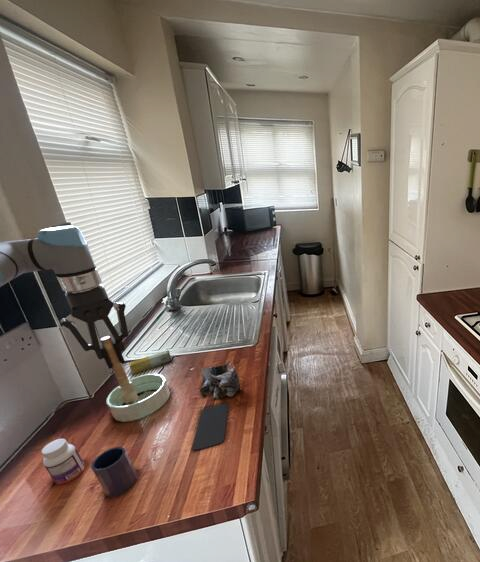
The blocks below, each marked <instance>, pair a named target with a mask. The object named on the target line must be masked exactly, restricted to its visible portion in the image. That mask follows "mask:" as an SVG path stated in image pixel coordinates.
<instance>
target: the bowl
mask: <svg viewBox="0 0 480 562" xmlns="http://www.w3.org/2000/svg"><path fill="white" fill-rule="evenodd" d="M128 380H129V382H132V383H133V386H134V388H135V391H136V393H137V395H138V394H141V393H143V392H147V391H150V390H156V391H155V392H153V393H151V394H150V395H149V396H147V397H145V398H144V399H141V400H139V401H137V402H134V403H130V404H125V402H124V400H123V397H122V395H121V393H120V390H119V388H118V387H119V386H120V384H118V386H117V387H115V388H114V389H112V391H111V392H110V393H109V394H108V395H107V396H106V405H107V408H108V410H109V411H110V413H111V416H112V417H113V419H115V421H118V422H122V423H124V422H133V421H136V420H140V419H143V418H145V417H147V416H150V415H152V414H153V413H155V412H156V411H158V410H159V409H160V408H161V407H163V406H164V405H165V404H166V403H167V401H168V400H169V398H170V395H171V391H170V389H169V386H168V383H167V380H166V378H165V376H164V375H162V374H161V373H146V374H142V375H138V376H136V377H132V378H130V379H128ZM124 404H125V405H124Z"/></svg>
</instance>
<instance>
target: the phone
mask: <svg viewBox="0 0 480 562" xmlns="http://www.w3.org/2000/svg"><path fill="white" fill-rule="evenodd" d="M228 409H229V404H228V403H221V404H220V403H219V404H216V405H213V406H208V407H206V408H203V409H202V410H201V411H200V414H199V419H198V424H197V427H196V431H195V437H194V440H193V446H192V450H193V451H200V450H204V449H207V448H211V447H214V446H217V445H220V444H222V443H223V442H224V441H225V437H226V429H227V428H226V427H227V420H228Z"/></svg>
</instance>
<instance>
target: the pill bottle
mask: <svg viewBox="0 0 480 562" xmlns="http://www.w3.org/2000/svg"><path fill="white" fill-rule="evenodd" d="M41 454H42V457H43V459H42V464H43V466H44V469H46V471H47V473H48V474H49V475H50V477H51V479H52V480H53V482H54V483H55V484H57V485H63V484H65V483H68V482H70V481H72V480H74V479H76V478H77V477H78V476H80V474H82V472H83V471H84V469H85V468H86V464H85V462H84V460H83V458H82V457H81V455H80V453H79V452H78V450H77V448H76V446H75V445H73V444H71V443H68V441H67V439H65V438H58V439H54V440H52V441H51V442H49V443H47V444H46V445H45V446H44V447H43V448H42V449H41Z"/></svg>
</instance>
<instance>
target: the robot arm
mask: <svg viewBox="0 0 480 562" xmlns="http://www.w3.org/2000/svg"><path fill="white" fill-rule="evenodd" d="M36 235H37V237H36V238H30V239H29V238H28V239H19V240H7V241H0V288H1V287H3V286H4V285H6V284H8V283H9V282H12V280H14V279H17V278H18V277H20V276H21V275H23V274H27V273H34V272H40V271H48V270H52V271H53V272H54V273H55V276H56V279H57V281H58V283H59V285H60V287H61V290H62V291H63V292H65V293H64V296H65V299H66V301H67V303H68V305H69V307H70V311H69V315H67V316H66V317H63V318H61V319H60V320H59V322H60V325H62V327H65V328H67V329H68V330H69V331H70V332H71V334H72V335H73V336H74V338H75V340H76V341H77V342H78V344H79V345H80V346H81V348H82V349H83V350H84V351H85V352H89V351H94V352H95V355H96V357H97V359H98V360H103V359H104V362H105V364H106V366H107V367H108V369H109V370H110V369H113V367H112V365H111V362H110V360H109V358H108V355H107V353H106V351H105V349H104V347H103V345H102V344H100V342H99V338H98V334H97V331H96V327H95V326H96V325H95V322H98V321H102V322H103V323H104V324H105V326H106V328H107V329H108V332H110V334H111V336H112V337H113V339H114V340H113V339H112V342H113V344H114V347H115V349H116V351H117V354H118V356H119V359H120V361H121V363H122V365H123V364H126V361H125V359H124V355H123V353H122V352H124V351H126V347H125V345H124V342H123V340H124V339H125V338H127V337H129V331H128V324H127V319H126V314H125V310H126V306H127V305H126V304H125V303H124V302H123V301H119V302H117V301H116V302H115V301H113V300H111V299H110V298H109V295H108V293H107V291H106V288H105V286H104V284H102V283H103V281H102V278H101V275H100V273H99V271H98V268H97V266H96V264H95V261H94V258H93V255H92V253H91V250H90V248H89V244H88V242H87V241H86V238H85V236H84V235H83V232H82V230H81V229H80V228H79V227H78V226H75V225H59V226H54V227H53V226H52V227H46V228H41V229H39V230H38V231H36ZM113 308H114V311H116V315H117V321H118V326H119V332H120V333H119V332H118V330H117V329H116V328H115V326H114V324H113V323H112V321H111V319H110V317H109V315H110V314H111V311H112V309H113ZM75 319H76V320H79V321H82V322H84V323H85V325H86V328H87V331H88V336H89V339H90V343H88V342H87V340H86V339H85V337H84V336H83V335H82V333H81V332H80V330H79V329H78V327H77V326H76V325H75V323H76V320H75Z"/></svg>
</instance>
